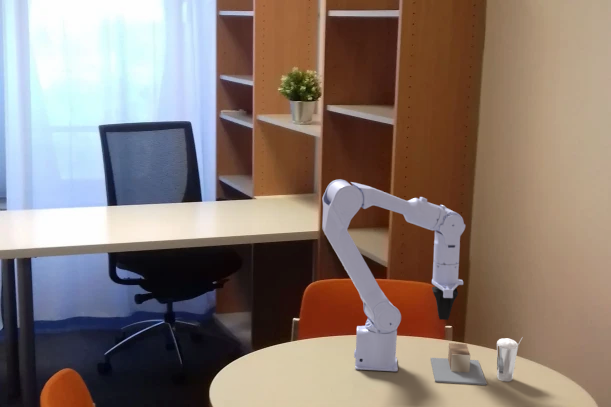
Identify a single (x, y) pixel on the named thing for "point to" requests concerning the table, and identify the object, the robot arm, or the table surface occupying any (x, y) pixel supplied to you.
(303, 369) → the table surface
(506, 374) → the milkshake
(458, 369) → the walnut block
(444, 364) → the mat
